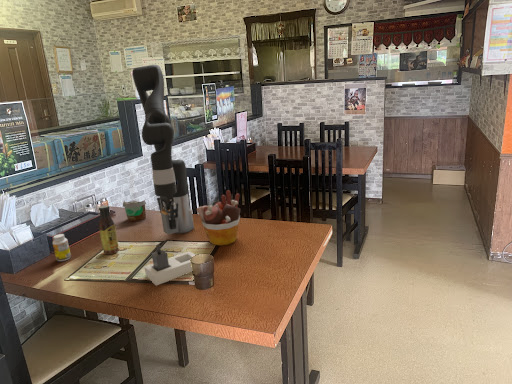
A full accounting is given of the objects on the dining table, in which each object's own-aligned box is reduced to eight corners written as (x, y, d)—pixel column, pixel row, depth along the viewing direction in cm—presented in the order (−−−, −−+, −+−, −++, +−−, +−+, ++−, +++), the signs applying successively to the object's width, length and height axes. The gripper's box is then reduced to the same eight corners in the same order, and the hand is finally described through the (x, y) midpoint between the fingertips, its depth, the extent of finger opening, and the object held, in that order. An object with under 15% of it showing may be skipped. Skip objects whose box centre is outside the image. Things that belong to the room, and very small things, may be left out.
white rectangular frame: (190, 260, 150) (186, 231, 147) (202, 268, 143) (198, 237, 140) (145, 276, 140) (140, 245, 137) (156, 285, 133) (150, 253, 130)
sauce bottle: (114, 255, 160) (105, 209, 155) (100, 255, 162) (91, 209, 156) (122, 248, 167) (114, 204, 161) (109, 248, 168) (100, 204, 163)
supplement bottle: (56, 258, 162) (51, 235, 159) (71, 254, 164) (66, 232, 162) (56, 263, 157) (50, 239, 154) (71, 259, 159) (66, 236, 157)
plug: (173, 229, 144) (171, 208, 142) (178, 231, 141) (175, 210, 139) (163, 231, 142) (160, 210, 140) (168, 234, 139) (165, 213, 137)
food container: (120, 222, 200) (117, 204, 197) (126, 218, 206) (123, 200, 203) (143, 222, 198) (140, 203, 195) (148, 218, 203) (145, 199, 201)
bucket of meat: (229, 252, 155) (224, 204, 150) (194, 247, 162) (189, 201, 157) (251, 233, 173) (247, 190, 167) (218, 230, 180) (214, 188, 174)
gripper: (182, 182, 133) (188, 229, 138) (166, 176, 145) (172, 220, 149) (162, 186, 129) (168, 235, 134) (146, 180, 141) (153, 225, 145)
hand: (170, 227), depth 141 cm, fingers closed on plug, 4 cm apart
